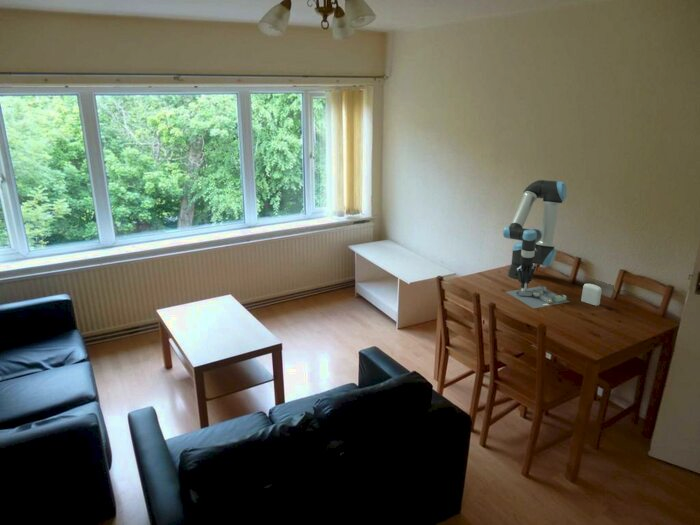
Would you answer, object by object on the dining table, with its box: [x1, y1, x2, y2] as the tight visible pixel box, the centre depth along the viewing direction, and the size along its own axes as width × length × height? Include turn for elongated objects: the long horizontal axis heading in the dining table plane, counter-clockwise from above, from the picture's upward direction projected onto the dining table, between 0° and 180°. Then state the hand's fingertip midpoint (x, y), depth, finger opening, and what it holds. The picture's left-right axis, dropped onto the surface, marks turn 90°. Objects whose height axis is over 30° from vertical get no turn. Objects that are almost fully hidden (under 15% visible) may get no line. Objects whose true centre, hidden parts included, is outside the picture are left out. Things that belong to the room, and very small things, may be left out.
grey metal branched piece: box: [516, 286, 552, 303], centre depth 300 cm, size 22×19×3 cm
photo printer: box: [580, 283, 603, 306], centre depth 289 cm, size 10×4×12 cm, turn 39°
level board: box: [505, 285, 571, 309], centre depth 299 cm, size 26×26×5 cm
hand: (523, 292), depth 303 cm, fingers closed
